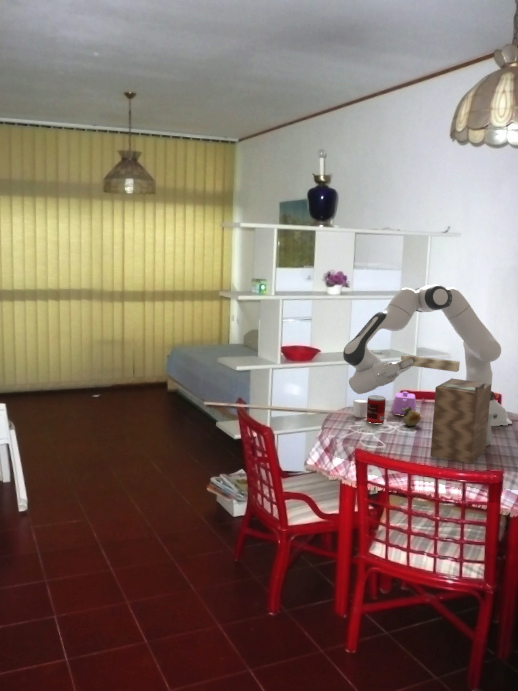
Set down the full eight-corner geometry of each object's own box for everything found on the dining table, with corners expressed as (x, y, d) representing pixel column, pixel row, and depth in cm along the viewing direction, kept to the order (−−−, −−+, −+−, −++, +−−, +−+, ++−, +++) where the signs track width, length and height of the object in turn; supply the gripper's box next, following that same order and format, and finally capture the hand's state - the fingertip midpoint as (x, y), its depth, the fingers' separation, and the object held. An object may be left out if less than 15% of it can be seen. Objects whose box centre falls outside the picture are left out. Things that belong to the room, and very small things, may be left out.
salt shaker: (473, 442, 268) (476, 410, 266) (487, 442, 269) (490, 410, 267) (479, 446, 263) (482, 414, 261) (494, 446, 263) (496, 414, 261)
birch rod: (400, 364, 265) (401, 355, 265) (403, 363, 268) (404, 354, 268) (456, 371, 254) (457, 362, 253) (459, 370, 257) (459, 361, 256)
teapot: (392, 407, 319) (394, 386, 318) (415, 409, 317) (417, 388, 315) (391, 417, 302) (393, 395, 300) (415, 419, 300) (417, 397, 298)
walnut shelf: (430, 455, 250) (436, 381, 245) (446, 442, 266) (452, 373, 262) (471, 464, 242) (477, 387, 237) (485, 450, 258) (491, 378, 254)
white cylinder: (363, 418, 298) (364, 403, 297) (349, 416, 302) (350, 400, 300) (370, 415, 304) (370, 400, 303) (356, 413, 307) (356, 398, 306)
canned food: (383, 419, 297) (384, 395, 295) (384, 424, 289) (386, 399, 287) (365, 418, 298) (367, 394, 296) (366, 423, 290) (368, 398, 288)
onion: (404, 428, 285) (406, 409, 284) (399, 422, 293) (401, 405, 292) (422, 428, 286) (423, 410, 284) (416, 423, 294) (418, 405, 292)
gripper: (372, 369, 263) (402, 355, 255) (391, 362, 280) (420, 349, 272) (378, 384, 262) (409, 371, 255) (397, 376, 279) (427, 363, 272)
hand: (415, 359), depth 264 cm, fingers closed on birch rod, 3 cm apart
